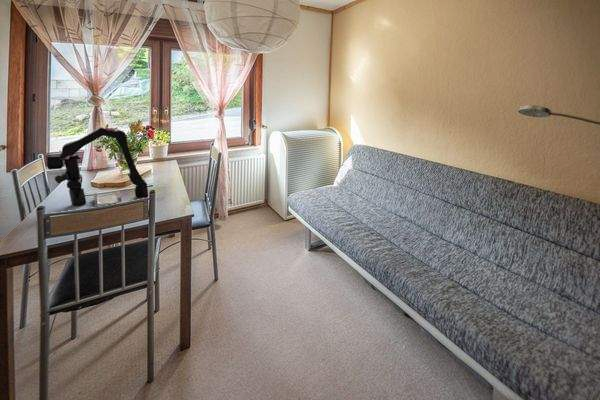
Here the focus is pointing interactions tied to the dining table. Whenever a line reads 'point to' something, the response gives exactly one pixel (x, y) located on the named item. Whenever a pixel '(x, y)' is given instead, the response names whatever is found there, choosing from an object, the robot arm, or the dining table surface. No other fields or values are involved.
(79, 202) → the supplement bottle
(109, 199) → the track
